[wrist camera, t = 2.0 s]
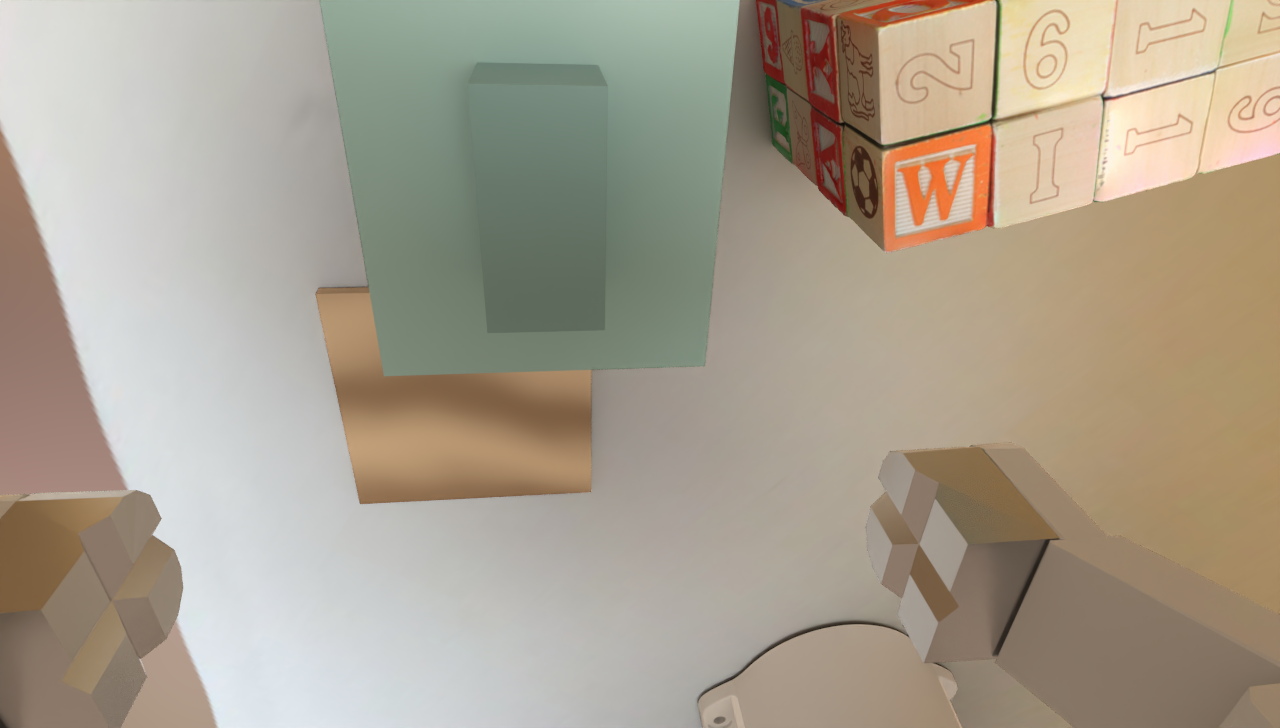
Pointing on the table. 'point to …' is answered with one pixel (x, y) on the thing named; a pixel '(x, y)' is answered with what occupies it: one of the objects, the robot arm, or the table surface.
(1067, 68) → the stack of blocks
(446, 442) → the cork mat
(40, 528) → the robot arm
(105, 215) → the table surface
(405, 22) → the lid
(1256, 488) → the table surface
